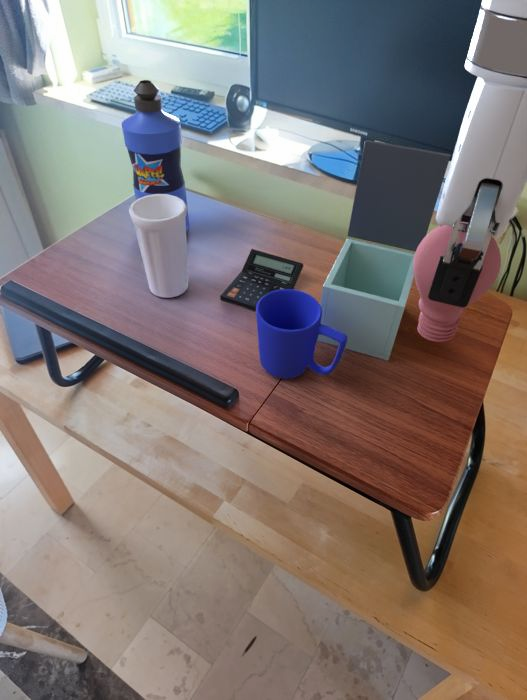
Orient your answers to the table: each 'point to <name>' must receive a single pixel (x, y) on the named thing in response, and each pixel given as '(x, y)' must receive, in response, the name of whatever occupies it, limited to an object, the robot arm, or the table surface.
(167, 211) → the cup
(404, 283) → the mint green open box
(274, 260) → the calculator
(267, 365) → the mug
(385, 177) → the lid
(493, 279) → the light bulb
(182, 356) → the table surface
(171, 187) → the blue bottle
